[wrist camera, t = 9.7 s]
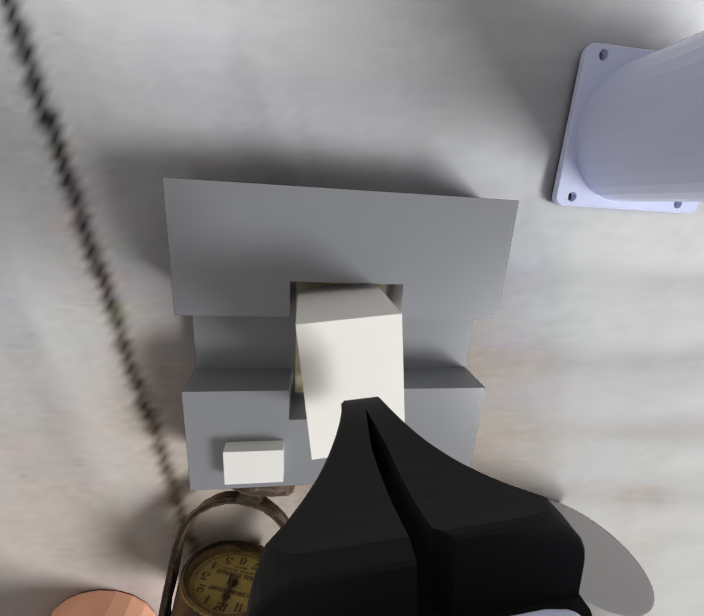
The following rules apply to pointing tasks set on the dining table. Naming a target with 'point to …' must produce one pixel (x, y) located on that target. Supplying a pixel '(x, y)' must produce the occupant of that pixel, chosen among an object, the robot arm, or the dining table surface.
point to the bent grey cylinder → (609, 571)
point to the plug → (347, 354)
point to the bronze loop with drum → (219, 561)
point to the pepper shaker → (103, 605)
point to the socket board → (311, 272)
